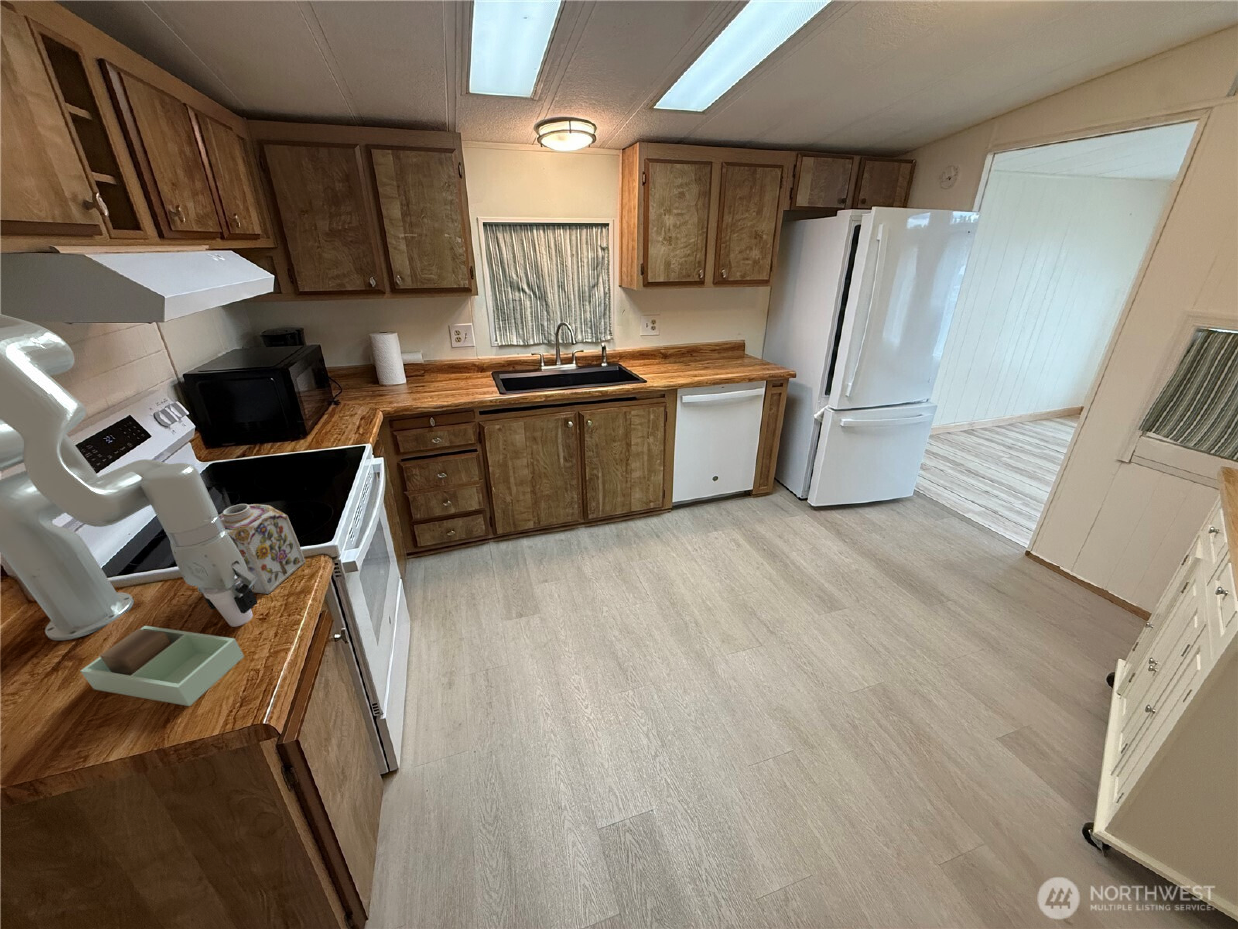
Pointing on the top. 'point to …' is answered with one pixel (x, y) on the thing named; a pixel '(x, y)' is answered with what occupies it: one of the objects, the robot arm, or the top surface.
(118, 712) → the top surface
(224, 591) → the white cup
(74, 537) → the robot arm
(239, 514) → the decorative jar
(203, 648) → the tote
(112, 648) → the walnut block
